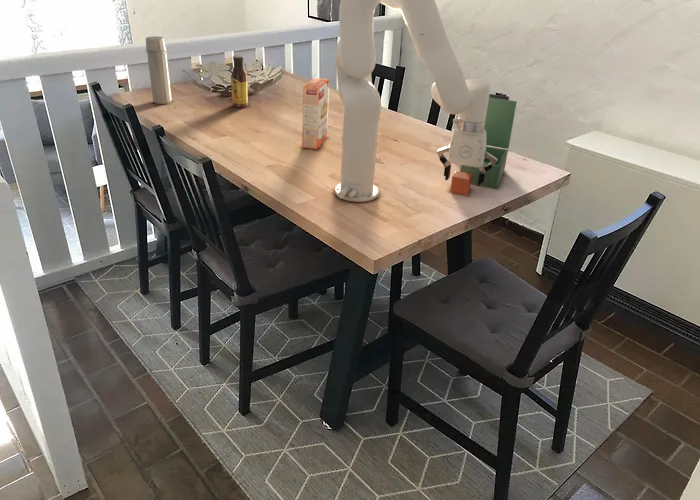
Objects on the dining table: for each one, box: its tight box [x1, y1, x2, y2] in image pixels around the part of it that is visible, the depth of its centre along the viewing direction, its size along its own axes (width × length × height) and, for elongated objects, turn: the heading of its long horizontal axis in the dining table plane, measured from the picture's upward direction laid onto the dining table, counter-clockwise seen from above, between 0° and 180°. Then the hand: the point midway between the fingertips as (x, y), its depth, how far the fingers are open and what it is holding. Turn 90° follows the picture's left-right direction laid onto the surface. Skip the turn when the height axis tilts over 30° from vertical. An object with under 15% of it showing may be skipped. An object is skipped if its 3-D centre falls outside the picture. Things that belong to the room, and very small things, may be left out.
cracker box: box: [301, 77, 330, 151], centre depth 195 cm, size 14×6×21 cm, turn 168°
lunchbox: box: [460, 145, 509, 189], centre depth 179 cm, size 16×12×7 cm
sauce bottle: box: [230, 54, 249, 108], centre depth 229 cm, size 7×6×20 cm
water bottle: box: [145, 35, 172, 105], centre depth 226 cm, size 9×8×25 cm
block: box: [449, 170, 472, 196], centre depth 169 cm, size 5×5×5 cm
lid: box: [484, 93, 517, 150], centre depth 179 cm, size 16×12×6 cm
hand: (463, 181), depth 169 cm, fingers open, 9 cm apart
